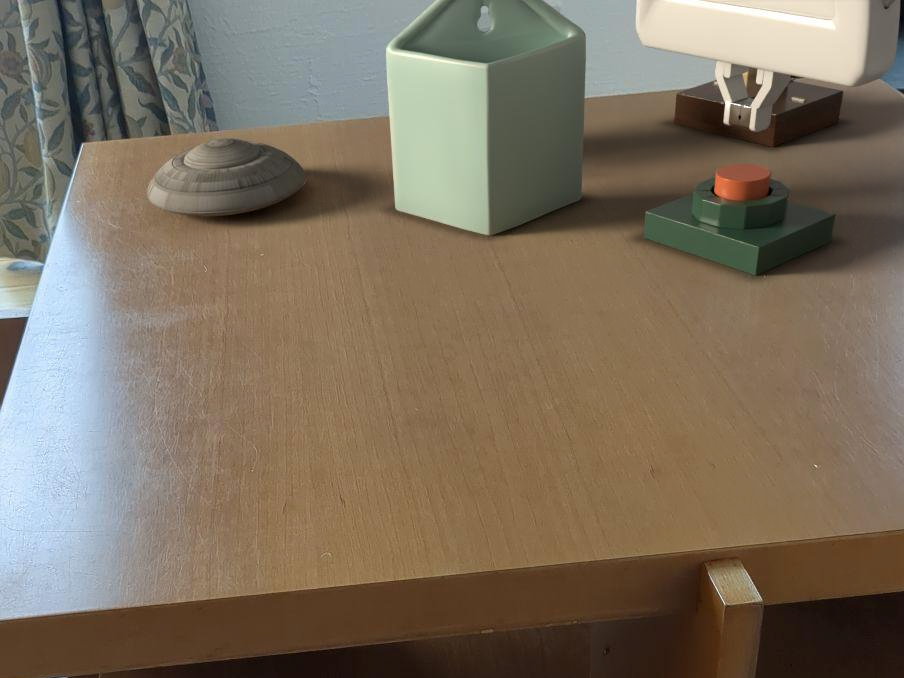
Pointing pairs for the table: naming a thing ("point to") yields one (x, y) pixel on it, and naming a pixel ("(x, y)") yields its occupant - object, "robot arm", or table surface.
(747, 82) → the handle
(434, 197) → the planter
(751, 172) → the button
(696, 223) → the button block
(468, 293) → the table surface
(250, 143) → the flying saucer
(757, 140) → the panel
